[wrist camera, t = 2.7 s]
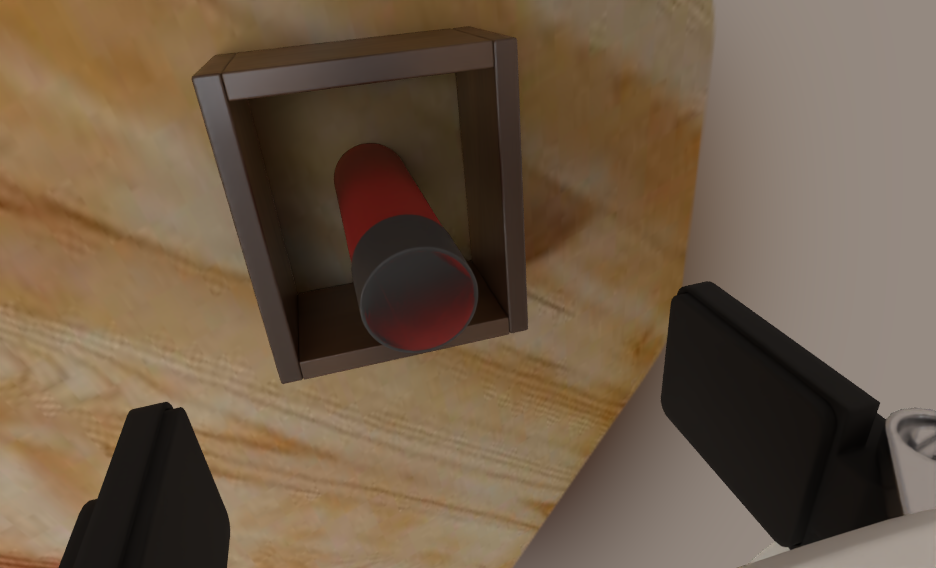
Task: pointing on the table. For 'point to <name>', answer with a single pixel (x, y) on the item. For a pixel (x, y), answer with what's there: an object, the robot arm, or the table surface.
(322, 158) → the table surface
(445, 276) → the marker pen
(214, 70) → the wooden box
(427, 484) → the table surface
